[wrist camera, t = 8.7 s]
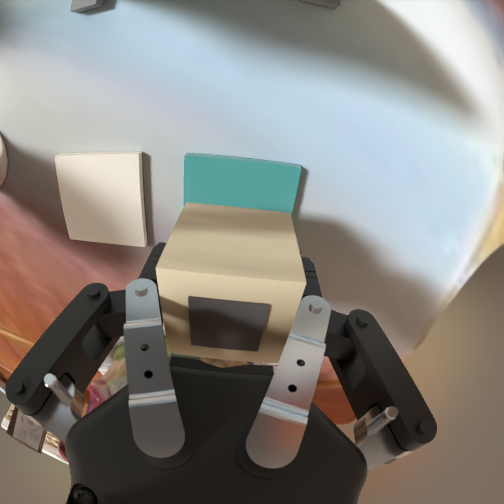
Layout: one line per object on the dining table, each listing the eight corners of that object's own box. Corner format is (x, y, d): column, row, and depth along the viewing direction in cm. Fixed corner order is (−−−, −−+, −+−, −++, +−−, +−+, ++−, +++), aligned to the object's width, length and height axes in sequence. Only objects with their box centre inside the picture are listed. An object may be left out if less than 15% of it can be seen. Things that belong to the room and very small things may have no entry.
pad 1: (58, 154, 15) (54, 156, 15) (141, 151, 16) (138, 154, 15) (73, 235, 19) (69, 239, 19) (147, 242, 20) (145, 247, 19)
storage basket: (33, 407, 59) (22, 441, 47) (12, 387, 50) (-2, 424, 38) (89, 432, 62) (81, 470, 49) (73, 416, 52) (61, 460, 40)
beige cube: (186, 202, 13) (154, 270, 9) (290, 213, 13) (307, 285, 9) (187, 283, 16) (169, 357, 12) (273, 292, 16) (278, 367, 12)
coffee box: (33, 357, 34) (4, 432, 20) (63, 375, 36) (38, 452, 23) (36, 374, 38) (13, 438, 25) (62, 389, 40) (41, 455, 27)
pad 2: (186, 153, 16) (184, 155, 15) (300, 164, 16) (301, 167, 16) (186, 246, 20) (184, 251, 19) (281, 256, 20) (281, 261, 20)
